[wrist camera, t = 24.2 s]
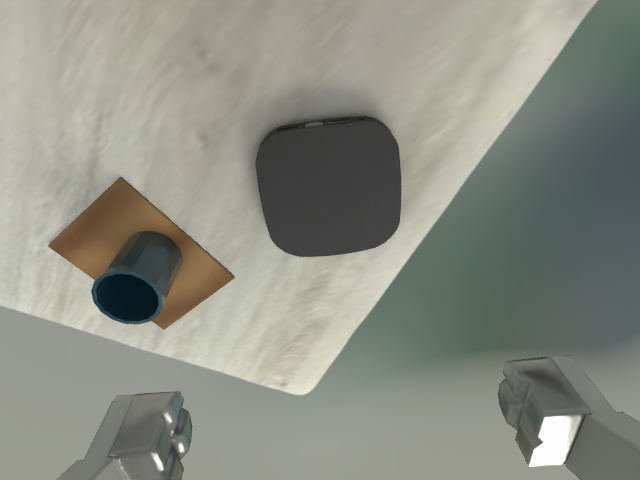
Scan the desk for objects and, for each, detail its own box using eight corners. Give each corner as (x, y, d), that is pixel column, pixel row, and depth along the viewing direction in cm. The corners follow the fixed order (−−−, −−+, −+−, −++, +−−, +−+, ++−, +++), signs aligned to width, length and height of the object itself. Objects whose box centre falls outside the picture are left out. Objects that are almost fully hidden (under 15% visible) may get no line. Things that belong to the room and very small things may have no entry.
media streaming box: (275, 249, 48) (273, 263, 45) (250, 128, 40) (247, 136, 38) (396, 235, 48) (402, 248, 45) (394, 110, 40) (400, 117, 38)
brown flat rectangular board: (49, 244, 46) (47, 246, 46) (121, 176, 42) (119, 178, 42) (164, 327, 53) (163, 329, 53) (234, 276, 50) (234, 278, 49)
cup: (110, 252, 47) (77, 295, 40) (148, 219, 45) (120, 258, 38) (156, 288, 50) (133, 334, 43) (194, 258, 48) (176, 301, 41)
